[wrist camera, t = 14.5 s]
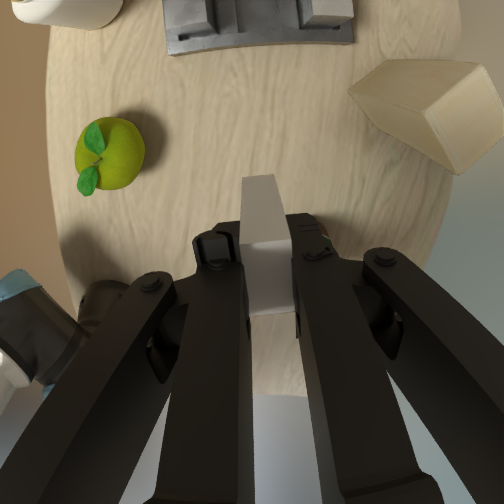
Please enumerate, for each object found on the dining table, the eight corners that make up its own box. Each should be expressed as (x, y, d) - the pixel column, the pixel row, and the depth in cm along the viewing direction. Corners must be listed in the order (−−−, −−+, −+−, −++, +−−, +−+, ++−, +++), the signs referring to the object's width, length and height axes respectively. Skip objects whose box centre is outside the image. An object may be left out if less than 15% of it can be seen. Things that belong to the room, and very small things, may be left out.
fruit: (90, 165, 42) (56, 189, 34) (104, 106, 38) (68, 117, 29) (144, 184, 44) (119, 212, 35) (163, 123, 39) (138, 137, 31)
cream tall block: (377, 133, 40) (461, 184, 22) (345, 91, 37) (420, 110, 19) (416, 101, 37) (516, 133, 19) (386, 59, 34) (483, 59, 16)
